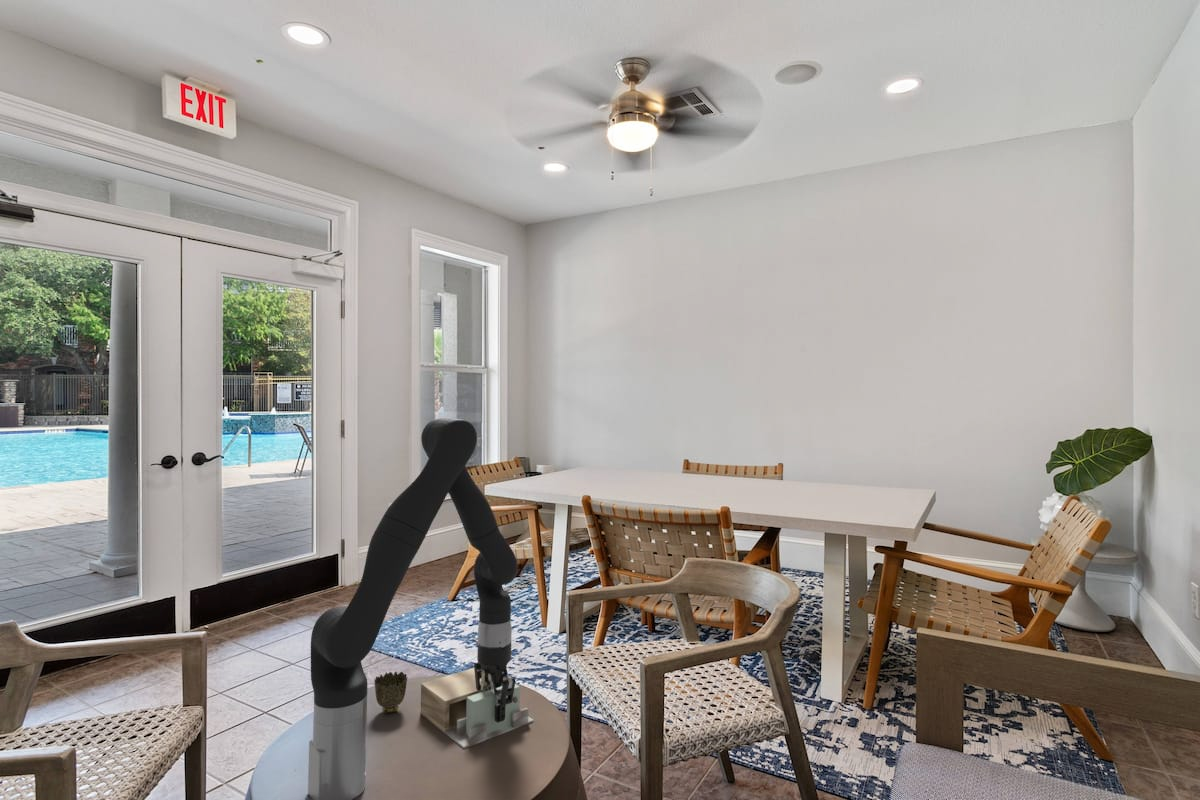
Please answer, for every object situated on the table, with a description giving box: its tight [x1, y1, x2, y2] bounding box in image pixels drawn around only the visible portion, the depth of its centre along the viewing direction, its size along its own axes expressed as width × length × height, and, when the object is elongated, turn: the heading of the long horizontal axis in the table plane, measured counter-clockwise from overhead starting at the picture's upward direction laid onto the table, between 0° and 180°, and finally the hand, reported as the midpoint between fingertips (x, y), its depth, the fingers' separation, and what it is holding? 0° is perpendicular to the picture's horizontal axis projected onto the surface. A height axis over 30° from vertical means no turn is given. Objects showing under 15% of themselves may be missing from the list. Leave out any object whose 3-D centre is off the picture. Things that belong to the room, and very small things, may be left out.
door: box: [466, 683, 521, 735], centre depth 138 cm, size 12×4×8 cm, turn 131°
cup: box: [374, 671, 408, 715], centre depth 146 cm, size 8×7×8 cm
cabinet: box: [420, 667, 534, 750], centre depth 144 cm, size 18×20×7 cm
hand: (493, 716), depth 138 cm, fingers open, 5 cm apart
